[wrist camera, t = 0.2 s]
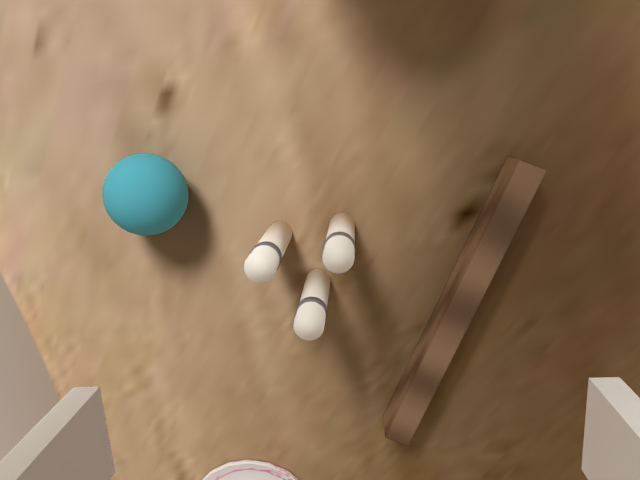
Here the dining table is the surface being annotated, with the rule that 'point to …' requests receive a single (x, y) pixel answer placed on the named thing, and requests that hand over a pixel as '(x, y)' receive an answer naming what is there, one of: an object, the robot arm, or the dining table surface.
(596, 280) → the dining table surface
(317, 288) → the pin
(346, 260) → the pin
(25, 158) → the dining table surface
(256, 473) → the teacup
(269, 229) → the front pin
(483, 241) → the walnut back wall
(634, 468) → the robot arm
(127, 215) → the teal ball
